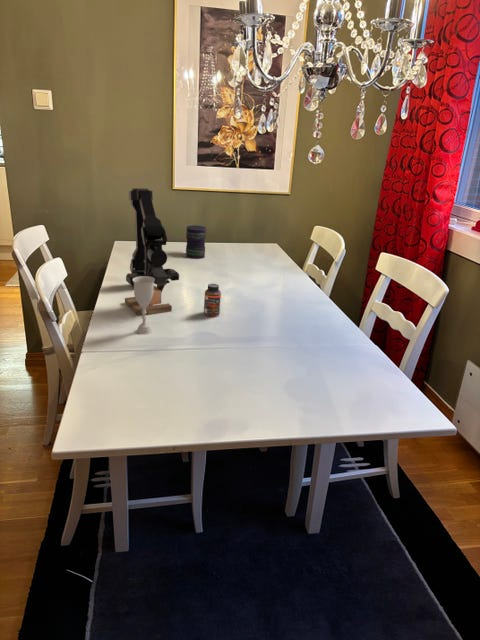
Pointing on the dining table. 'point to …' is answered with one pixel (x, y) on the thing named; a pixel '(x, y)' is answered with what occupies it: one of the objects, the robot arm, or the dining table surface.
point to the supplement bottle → (212, 300)
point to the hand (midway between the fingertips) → (153, 298)
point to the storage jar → (195, 242)
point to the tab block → (156, 296)
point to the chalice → (143, 299)
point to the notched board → (154, 309)
